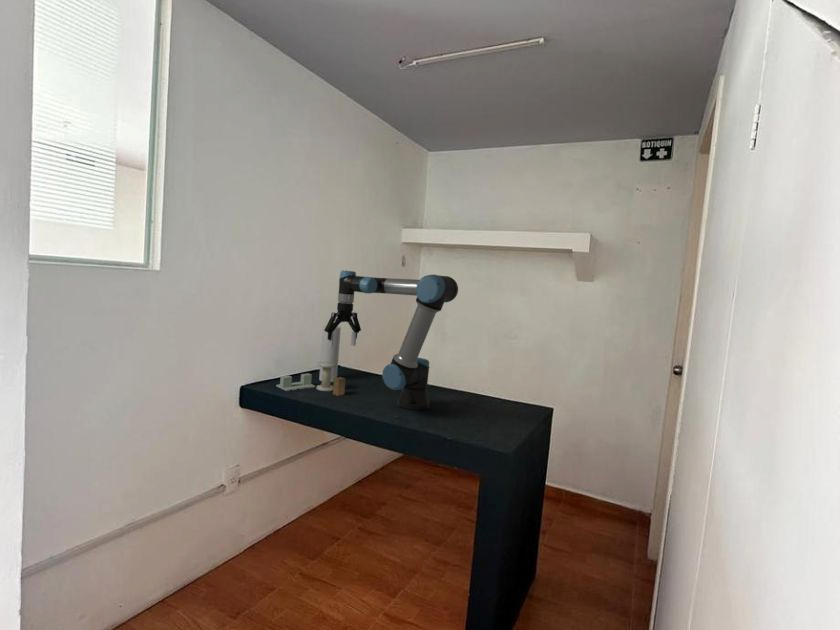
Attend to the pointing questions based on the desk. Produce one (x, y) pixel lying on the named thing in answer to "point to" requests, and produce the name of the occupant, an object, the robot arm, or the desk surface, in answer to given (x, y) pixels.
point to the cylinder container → (330, 351)
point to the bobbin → (326, 376)
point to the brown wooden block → (339, 386)
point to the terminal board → (288, 385)
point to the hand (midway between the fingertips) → (341, 346)
